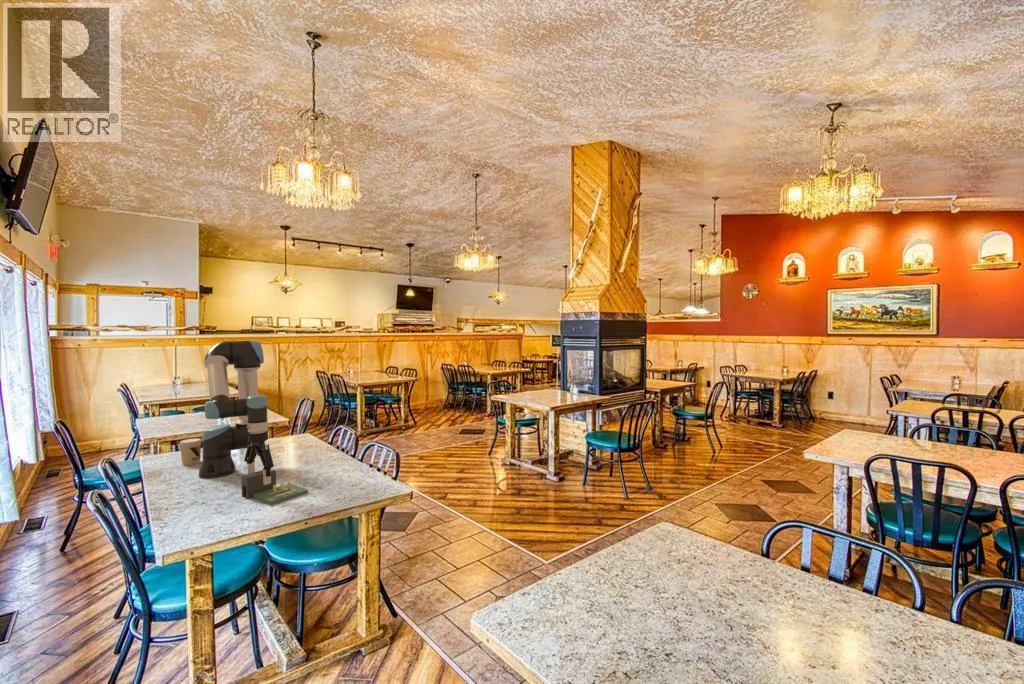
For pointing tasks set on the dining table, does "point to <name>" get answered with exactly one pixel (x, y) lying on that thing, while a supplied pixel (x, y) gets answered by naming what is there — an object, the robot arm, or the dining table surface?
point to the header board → (280, 493)
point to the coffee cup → (190, 451)
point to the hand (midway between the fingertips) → (259, 481)
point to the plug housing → (256, 483)
